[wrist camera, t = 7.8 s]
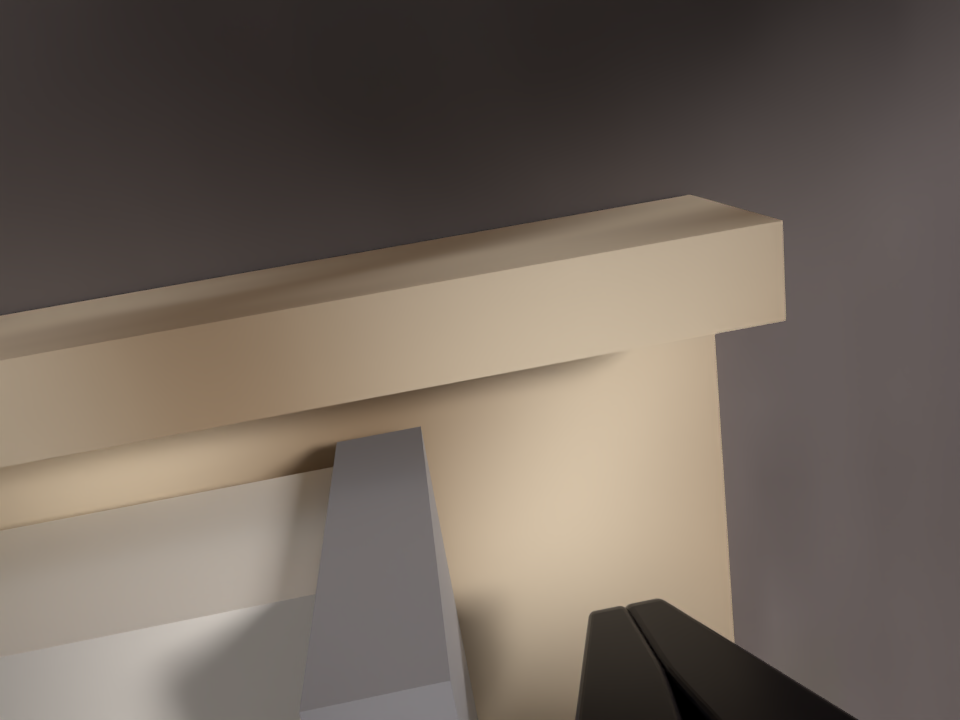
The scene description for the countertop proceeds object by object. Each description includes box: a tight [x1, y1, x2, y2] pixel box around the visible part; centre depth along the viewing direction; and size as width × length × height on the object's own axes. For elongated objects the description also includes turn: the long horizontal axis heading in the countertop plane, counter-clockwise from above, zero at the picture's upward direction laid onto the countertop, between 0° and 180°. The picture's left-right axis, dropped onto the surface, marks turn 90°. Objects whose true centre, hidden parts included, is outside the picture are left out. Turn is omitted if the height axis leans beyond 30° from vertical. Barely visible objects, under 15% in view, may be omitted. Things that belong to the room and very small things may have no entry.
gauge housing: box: [0, 195, 786, 720], centre depth 10 cm, size 10×9×2 cm
